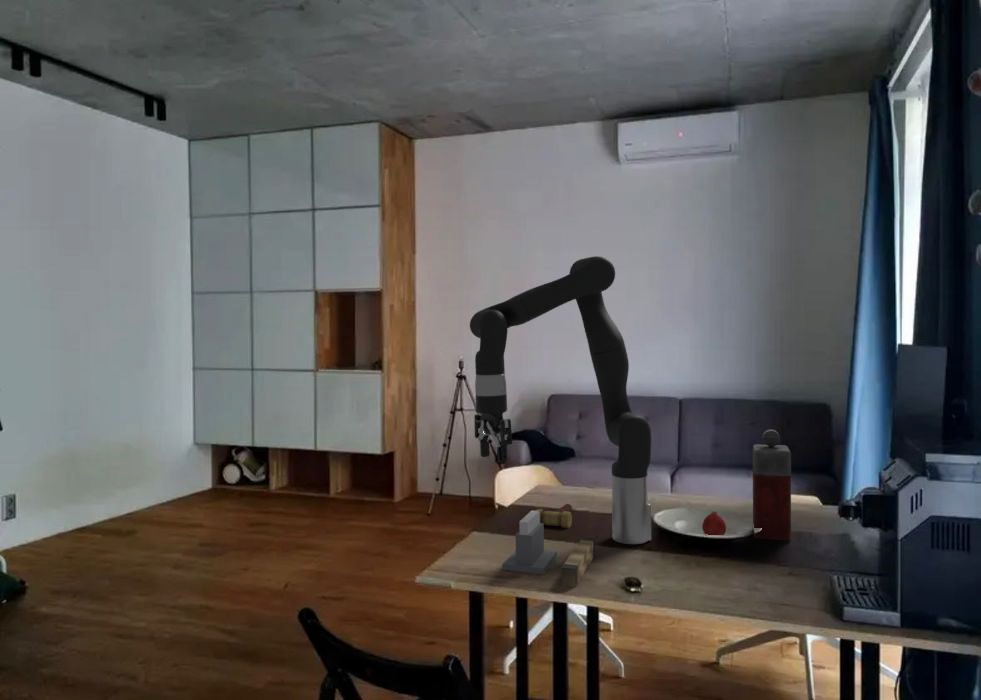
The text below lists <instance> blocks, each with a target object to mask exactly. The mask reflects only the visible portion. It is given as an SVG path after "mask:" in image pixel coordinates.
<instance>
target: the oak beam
mask: <svg viewBox="0 0 981 700" xmlns="http://www.w3.org/2000/svg"><path fill="white" fill-rule="evenodd" d="M595 556H596V537H587V536H586V537H585V536H583V537H582V538H580V541H579V542H578V544H577V545H576V547H575V548H574V550H573V551H572V553H571V554H570V555H569V556H568V558H567V559H566V560H565V562H564V563H563V565H561V568H560V570H561V586H562V587H569V588H576V587H577V586H578V584H579V582H580V580H581V578H582V577H583V575H584V574H585V571H586V570H587V569H588V567H589V566H590V564H591V562H592V560H593V558H595Z"/></svg>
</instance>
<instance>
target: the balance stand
mask: <svg viewBox="0 0 981 700" xmlns="http://www.w3.org/2000/svg"><path fill="white" fill-rule="evenodd" d="M518 523H519V526H518V527H519V530H518V531H517V532H515V550H514V552H512V554H510V555H509V557H508V558H507V559H506V560H505V561H503V563H502V571H506V570H510V571H509V572H515V571H516V573H525V574H534V575H543V576H544V575H545V574H546V573H547V571H548V570H549V569H550V567H551V566H552V565H553V563H554V562H555V560H557V558H558V551H555V550H546V549H545V534H544V533H545V532H544V531H545V527H544V526H545V524H544V523H540V512H539V511H536V510H530V511H529V512H528V513H527V514H526V515H525V516H524V517H523V518H522V519H521V520H519V522H518Z"/></svg>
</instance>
